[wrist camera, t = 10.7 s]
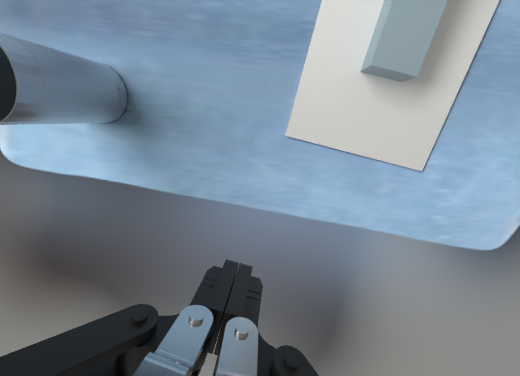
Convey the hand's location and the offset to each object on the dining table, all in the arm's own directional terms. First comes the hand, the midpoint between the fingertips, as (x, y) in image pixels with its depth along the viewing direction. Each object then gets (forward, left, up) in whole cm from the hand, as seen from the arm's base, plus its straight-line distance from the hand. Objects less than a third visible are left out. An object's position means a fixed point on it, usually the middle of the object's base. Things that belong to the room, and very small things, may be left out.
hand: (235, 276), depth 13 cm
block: (+12, +18, -26) cm, 34 cm away
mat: (+12, +19, -29) cm, 37 cm away
